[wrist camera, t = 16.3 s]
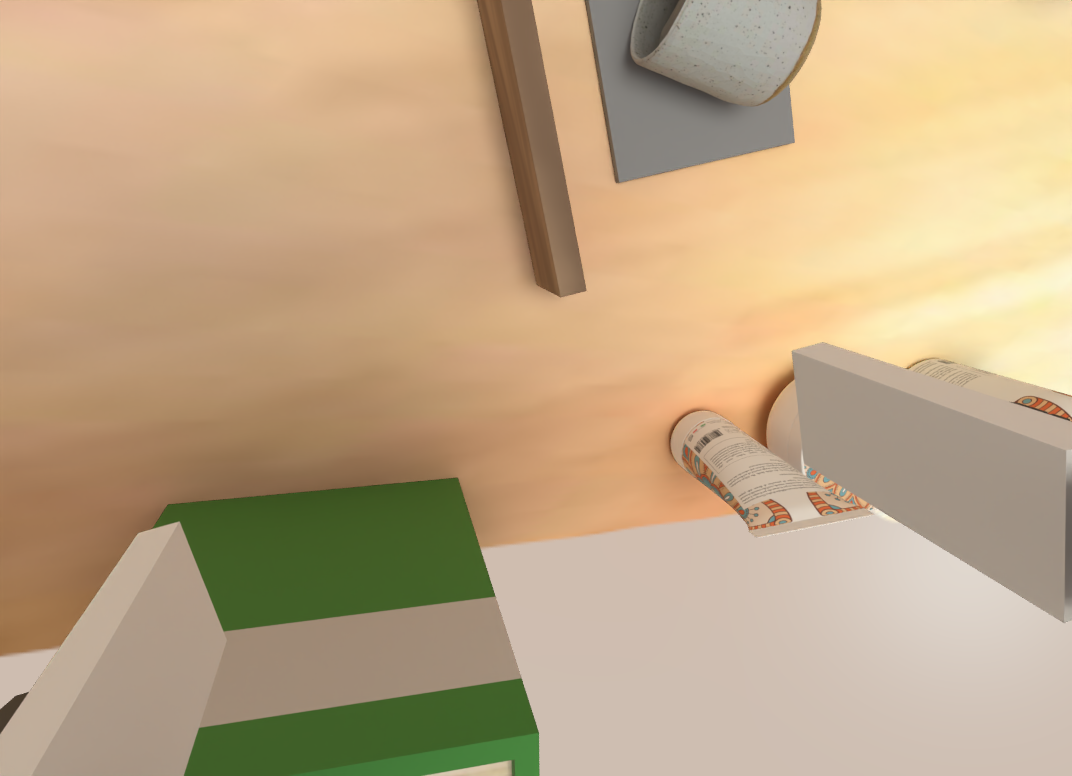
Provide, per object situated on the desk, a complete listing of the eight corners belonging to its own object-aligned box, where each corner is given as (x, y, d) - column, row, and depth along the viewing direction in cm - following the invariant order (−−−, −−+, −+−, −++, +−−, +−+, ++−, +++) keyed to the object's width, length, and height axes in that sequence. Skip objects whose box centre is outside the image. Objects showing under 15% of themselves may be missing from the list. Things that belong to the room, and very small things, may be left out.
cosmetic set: (653, 505, 51) (803, 668, 34) (647, 381, 49) (806, 485, 31) (955, 450, 56) (1227, 566, 38) (964, 333, 54) (1259, 401, 36)
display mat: (616, 182, 45) (619, 182, 44) (573, -69, 41) (576, -73, 40) (789, 143, 47) (794, 142, 46) (765, -102, 43) (770, -106, 42)
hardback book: (184, 612, 46) (4, 1019, 23) (167, 504, 44) (-46, 832, 21) (461, 578, 49) (540, 900, 27) (457, 477, 48) (538, 732, 25)
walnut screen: (536, 284, 45) (560, 297, 40) (462, -71, 40) (477, -117, 34) (559, 279, 46) (586, 290, 40) (488, -76, 40) (508, -121, 34)
